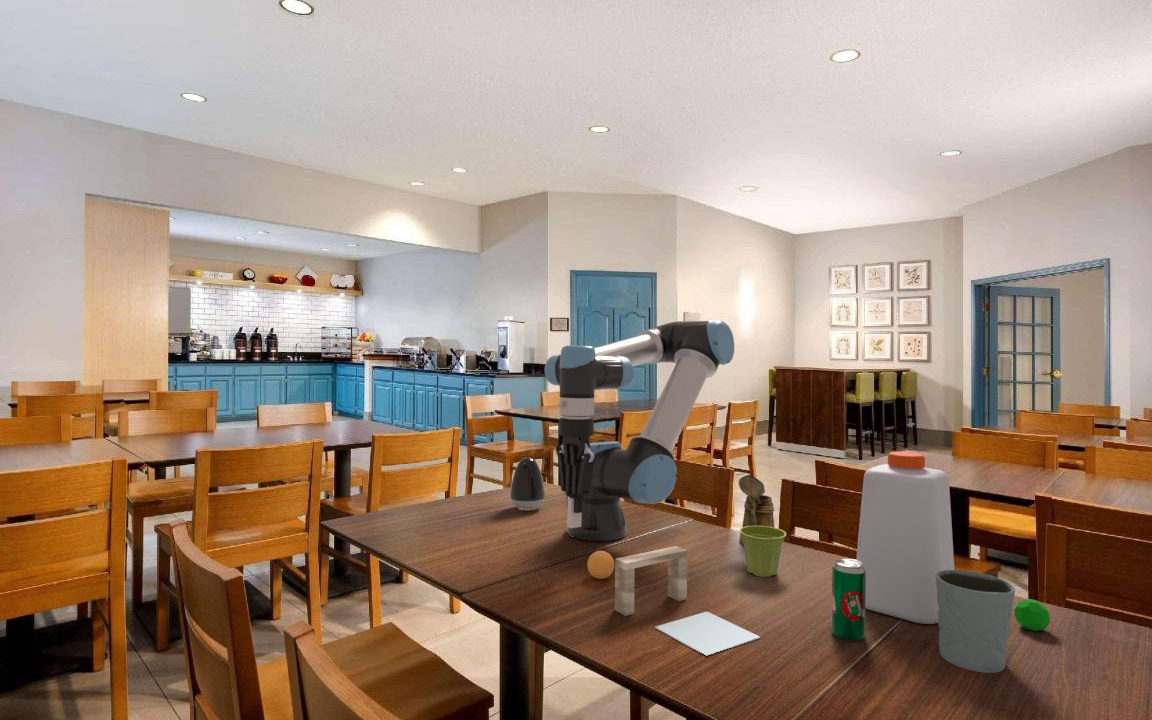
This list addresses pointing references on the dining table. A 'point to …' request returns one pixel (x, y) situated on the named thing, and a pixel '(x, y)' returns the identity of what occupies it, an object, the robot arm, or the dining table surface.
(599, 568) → the ball
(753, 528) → the plant pot
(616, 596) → the bridge
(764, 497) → the wooden mug
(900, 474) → the plastic bottle
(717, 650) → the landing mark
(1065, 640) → the dining table surface
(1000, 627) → the grey cup
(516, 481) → the black rounded dome
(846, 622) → the soda can
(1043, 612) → the polyhedron
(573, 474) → the robot arm
